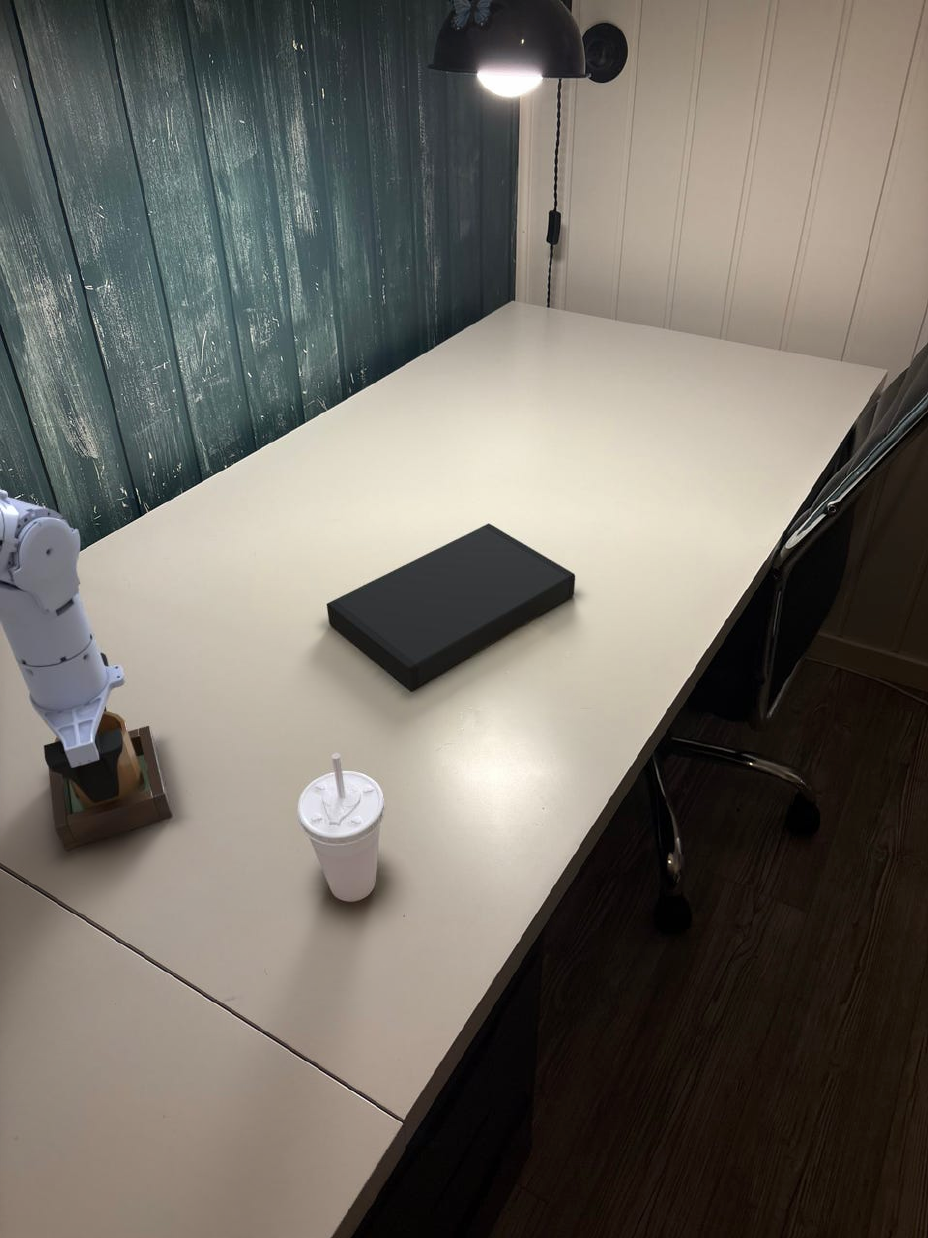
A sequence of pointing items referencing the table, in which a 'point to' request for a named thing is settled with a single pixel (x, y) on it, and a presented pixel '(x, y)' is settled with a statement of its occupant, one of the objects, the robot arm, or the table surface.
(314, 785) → the smoothie
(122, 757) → the paper cup
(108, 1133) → the table surface
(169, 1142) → the table surface
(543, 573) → the external hard drive
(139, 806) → the cup holder
